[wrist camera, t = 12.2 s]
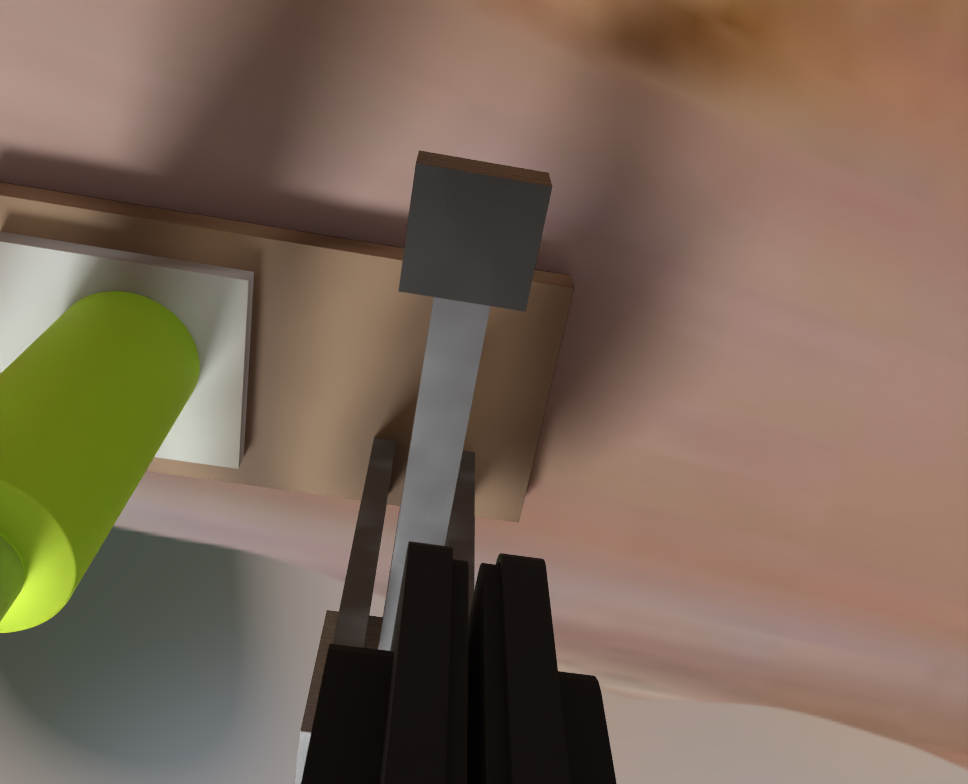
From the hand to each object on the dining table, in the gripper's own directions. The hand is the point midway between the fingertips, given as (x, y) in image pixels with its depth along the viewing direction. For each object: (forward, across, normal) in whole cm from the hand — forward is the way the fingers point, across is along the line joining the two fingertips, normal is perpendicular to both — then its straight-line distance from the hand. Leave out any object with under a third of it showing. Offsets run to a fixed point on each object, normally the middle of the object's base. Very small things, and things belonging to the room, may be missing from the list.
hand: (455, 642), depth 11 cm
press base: (+28, +7, +10) cm, 30 cm away
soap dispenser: (+25, +13, +10) cm, 30 cm away
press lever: (+19, 0, +9) cm, 21 cm away
